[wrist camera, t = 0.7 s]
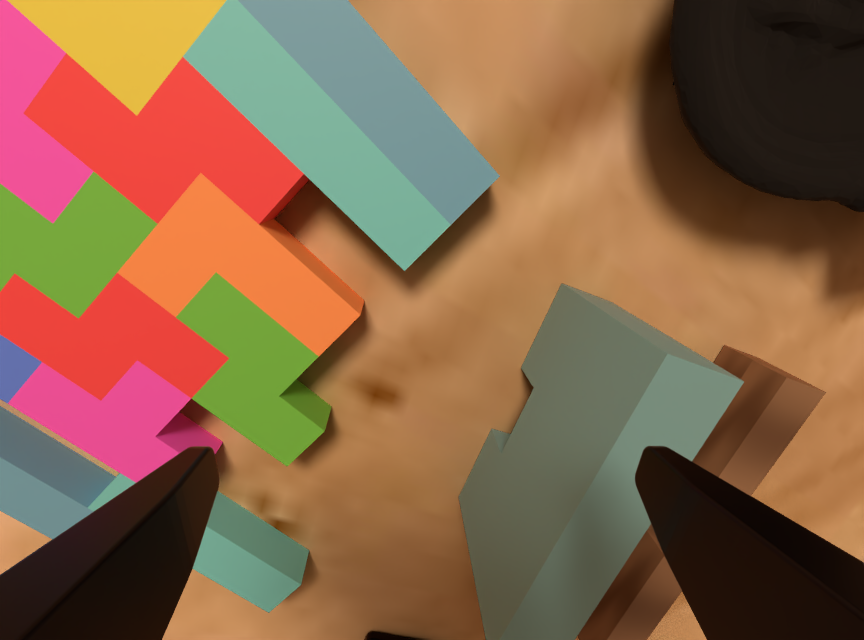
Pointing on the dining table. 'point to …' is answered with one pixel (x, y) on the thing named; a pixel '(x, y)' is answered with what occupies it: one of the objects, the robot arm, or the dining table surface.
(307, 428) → the tetris game
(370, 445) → the dining table surface
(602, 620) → the walnut rail
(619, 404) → the teal plate
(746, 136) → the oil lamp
